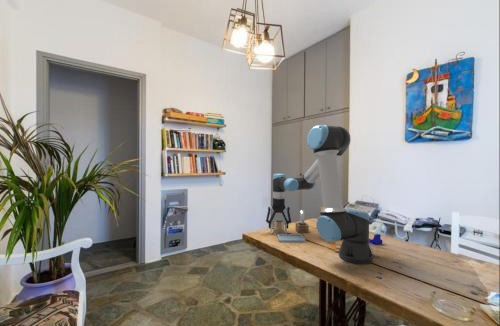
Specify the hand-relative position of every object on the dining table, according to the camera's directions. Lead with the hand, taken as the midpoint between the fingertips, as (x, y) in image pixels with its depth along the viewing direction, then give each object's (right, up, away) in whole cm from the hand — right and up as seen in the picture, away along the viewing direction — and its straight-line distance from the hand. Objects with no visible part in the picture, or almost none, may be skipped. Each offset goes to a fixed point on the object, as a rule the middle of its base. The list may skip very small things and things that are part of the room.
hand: (278, 233), depth 152 cm
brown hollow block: (+16, 0, +5) cm, 17 cm away
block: (0, 0, 0) cm, 0 cm away
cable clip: (+51, -1, -14) cm, 53 cm away
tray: (+6, 0, -10) cm, 12 cm away
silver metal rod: (+16, 0, +5) cm, 17 cm away
